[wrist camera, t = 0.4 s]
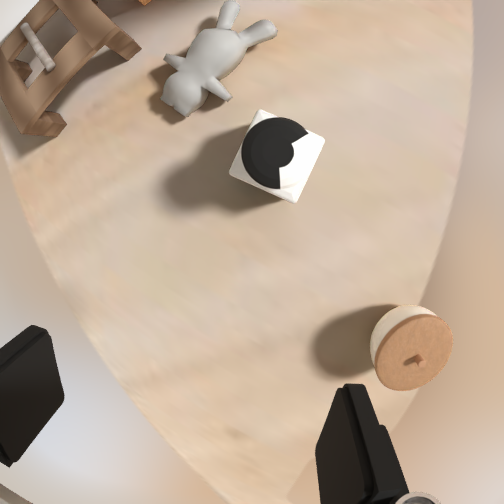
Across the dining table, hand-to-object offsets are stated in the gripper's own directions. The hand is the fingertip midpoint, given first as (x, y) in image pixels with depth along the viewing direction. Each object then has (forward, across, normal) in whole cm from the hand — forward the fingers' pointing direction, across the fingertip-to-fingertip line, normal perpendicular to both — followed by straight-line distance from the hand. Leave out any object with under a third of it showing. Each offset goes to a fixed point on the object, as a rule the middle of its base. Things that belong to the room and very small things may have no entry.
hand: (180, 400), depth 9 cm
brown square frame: (+30, +28, -22) cm, 47 cm away
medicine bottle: (+31, -2, -8) cm, 32 cm away
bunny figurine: (+31, +6, -20) cm, 37 cm away
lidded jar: (+31, -22, +11) cm, 39 cm away
